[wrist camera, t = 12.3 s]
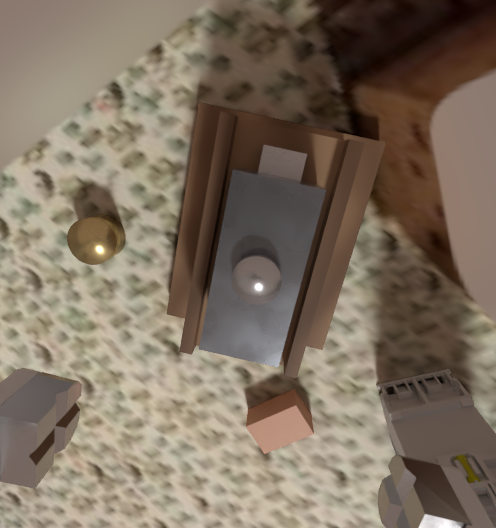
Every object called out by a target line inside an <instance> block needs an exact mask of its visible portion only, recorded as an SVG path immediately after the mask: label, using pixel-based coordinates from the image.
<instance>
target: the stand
mask: <svg viewBox="0 0 496 528" xmlns="http://www.w3.org/2000/svg"><path fill="white" fill-rule="evenodd" d="M385 144H386V142H382V141H377V140H372V139H368V138H363V137H358V136H354V135H349V134H344V133H340V132H335V131H331V130H326V129H321V128H317V127H312V126H307V125H303V124H298V123H293V122H289V121H284V120H279V119H275V118H270V117H266V116H261V115H256V114H252V113H247V112H242V111H238V110H233V109H228V108H224V107H219V106H214V105H210V104H205V103H201V102H199V106H198V112H197V119H196V125H195V132H194V138H193V145H192V152H191V158H190V165H189V171H188V178H187V184H186V191H185V198H184V204H183V211H182V217H181V224H180V230H179V237H178V244H177V250H176V257H175V263H174V270H173V276H172V283H171V290H170V296H169V303H168V309H167V314H168V315H172V316H177V317H181V318H185V322H184V328H183V334H182V340H181V346H180V352H183V353H188V354H192V353H193V351H194V348H195V346H196V345H198V346H199V345H200V340H201V334H202V329H203V324H204V319H205V313H206V308H207V303H208V297H209V292H210V287H211V282H212V276H213V271H214V266H215V260H216V255H217V250H218V245H219V239H220V234H221V229H222V224H223V218H224V213H225V208H226V202H227V197H228V192H229V187H230V181H231V176H232V171H233V169H237V168H241V167H242V168H246V169H251V170H256V171H258V170H259V165H260V160H261V155H262V151H263V146H264V145H268V146H273V147H277V148H282V149H286V150H291V151H296V152H300V153H305V154H307V157H306V162H305V166H304V170H303V174H302V178H301V181H306V182H310V183H315V184H318V185H320V186H321V187H323V188H324V189H326V193H325V197H324V200H323V204H322V208H321V212H320V215H319V219H318V223H317V226H316V230H315V234H314V237H313V241H312V245H311V248H310V252H309V256H308V260H307V263H306V267H305V271H304V274H303V278H302V282H301V285H300V289H299V293H298V296H297V300H296V304H295V308H294V311H293V315H292V319H291V322H290V326H289V330H288V333H287V337H286V341H285V344H284V348H283V352H282V356H281V359H280V363H279V364H281V365H284V376H287V377H292V378H297V375H298V372H299V368H300V365H301V361H302V358H303V354H304V351H305V348H306V346H308V347H312V348H317V349H321V350H322V349H323V346H324V343H325V340H326V336H327V333H328V330H329V327H330V323H331V320H332V317H333V314H334V310H335V307H336V304H337V301H338V297H339V294H340V291H341V288H342V284H343V281H344V278H345V274H346V271H347V268H348V265H349V261H350V258H351V255H352V252H353V248H354V245H355V242H356V239H357V235H358V232H359V229H360V226H361V222H362V219H363V216H364V213H365V209H366V206H367V203H368V200H369V196H370V193H371V190H372V187H373V183H374V180H375V177H376V174H377V170H378V167H379V164H380V161H381V157H382V154H383V151H384V148H385Z"/></svg>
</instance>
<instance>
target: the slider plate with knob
mask: <svg viewBox="0 0 496 528" xmlns="http://www.w3.org/2000/svg"><path fill="white" fill-rule="evenodd" d="M306 157H307V154H305V153H300V152H296V151H291V150H286V149H282V148H277V147H273V146H268V145H264V146H263V151H262V155H261V160H260V165H259V170H258V171H256V170H251V169H246V168H242V167H241V168H237V169H233V171H232V176H231V181H230V187H229V192H228V197H227V202H226V208H225V213H224V218H223V224H222V229H221V234H220V239H219V245H218V250H217V255H216V260H215V266H214V271H213V276H212V282H211V287H210V292H209V297H208V303H207V308H206V313H205V319H204V324H203V329H202V334H201V340H200V345H199V349H200V350H205V351H209V352H213V353H218V354H222V355H226V356H231V357H235V358H239V359H244V360H248V361H252V362H257V363H261V364H265V365H270V366H274V367H279V363H280V359H281V356H282V352H283V348H284V344H285V341H286V337H287V333H288V330H289V326H290V322H291V319H292V315H293V311H294V308H295V304H296V300H297V296H298V293H299V289H300V285H301V282H302V278H303V274H304V271H305V267H306V263H307V260H308V256H309V252H310V248H311V245H312V241H313V237H314V234H315V230H316V226H317V223H318V219H319V215H320V212H321V208H322V204H323V200H324V197H325V193H326V189H324V188H323V187H321V186H320V185H318V184H315V183H310V182H306V181H301V178H302V174H303V170H304V166H305V162H306Z"/></svg>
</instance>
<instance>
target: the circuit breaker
mask: <svg viewBox="0 0 496 528" xmlns="http://www.w3.org/2000/svg"><path fill="white" fill-rule="evenodd" d="M450 374H451V371H450V370H449V369H445V370H441V371H436V372H432V373H427V374H422V375H418V376H413V377H409V378H404V379H399V380H395V381H390V382H386V383H381V384H376V385H377V388H378V390H379V389H382V393H381V394H380V395H379V396H380V400H381V404H382V407H383V411H384V415H385V419H386V423H387V426H388V430H389V434H390V438H391V442H392V445H393V448H394V450H395V453H396V455H401V456H405V457H410V458H414V459H419V460H423V461H428V462H432V463H439V464H444V465H448V466H453V467H456V468H458V469H459V470H460V471H461V472H462V474H463V475H464V477H465V479H466V480H467V482H468V484H469V485H470V487H471V489H472V490H473V492H474V494H475V495H476V497H477V499H478V500H479V502H480V504H481V506H482V507H483V509H484V511H485V512H486V514H487V516H488V517H489V519H490V521H491V522H492V524H493V526H494V527H495V528H496V433H495V432H494V431H493V430H492V428H491V427H490V426H489V425H488V423H487V422H486V421H485V419H484V418H483V417H482V416H481V414H480V413H479V412H478V411H477V409H476V408H475V407H474V406H473V405H474V403H473V400H472V397H471V396H470V394H469V393H468V392H467V391H466V389H465V388H464V387H463V386H462V384H461V383H460V382H459V381H458V380H457V378H451V377H450ZM439 376H441V377H442V381H443V383H442V384H441V383H440V381H439V380H438V378H437V377H439ZM432 377H433V379H432V380H427V381H425V380H424V379H427V378H432ZM417 381H421V383H419V384H418V382H417ZM404 383H405V385H404V386H399V387H396V385H399V384H404ZM408 383H412V385H408ZM388 387H393V390H394V394H390V395H388V393H387V388H388Z"/></svg>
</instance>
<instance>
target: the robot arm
mask: <svg viewBox="0 0 496 528" xmlns="http://www.w3.org/2000/svg"><path fill="white" fill-rule="evenodd" d="M81 385H82V384H81V383H80V382H79V381H75V380H71V379H67V378H63V377H59V376H55V375H51V374H47V373H44V372H42V373H41V372H38V371H34V370H30V369H26V368H21V369H17V370H16V371H15V372H13V373H12V374H11V375H10V376H8V377H7V378H6V379H5V380H3V381H2V382H1V383H0V482H5V483H10V484H15V485H20V486H25V487H30V488H36V487H37V485H38V484H39V483H40V481H41V480H42V478H43V477H44V476H45V474H46V473H47V472H48V470H49V469H50V468H51V466H52V465H53V460H54V454H55V453H57V452H59V451H61V450H63V449H65V447H66V446H67V444H68V443H69V442H70V440H71V438H72V436H73V434H74V432H75V430H76V428H77V424H78V421H79V415H80V409H79V407H78V406H77V404H76V401H77V400H78V399H79V397H80V396H81ZM388 467H389V470H390V473H391V475H389V476H388V477H386V478H384V479H383V480H382V482H381V485H380V488H379V492H378V509H379V515H380V518H381V522H382V524H383V525H384V526H385V527H386V528H495V527H494V526H493V524H492V522H491V521H490V519H489V517H488V516H487V514H486V512H485V511H484V509H483V507H482V506H481V504H480V502H479V500H478V499H477V497H476V495H475V494H474V492H473V490H472V489H471V487H470V485H469V484H468V482H467V480H466V479H465V477H464V475H463V474H462V472H461V471H460V470H459V469H458V468H456V467H453V466H448V465H444V464H439V463H432V462H428V461H423V460H419V459H414V458H410V457H405V456H401V455H395V456H394V457H392V459H391V461H390V463H389V465H388Z"/></svg>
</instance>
